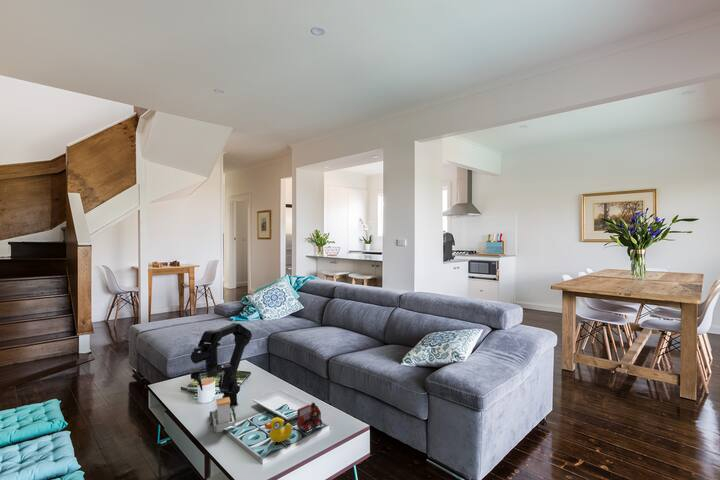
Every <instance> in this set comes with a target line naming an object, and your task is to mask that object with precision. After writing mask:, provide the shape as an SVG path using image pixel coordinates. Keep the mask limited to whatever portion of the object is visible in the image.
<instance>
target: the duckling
mask: <svg viewBox="0 0 720 480" xmlns="http://www.w3.org/2000/svg"><path fill="white" fill-rule="evenodd" d="M284 425H285V426H284ZM264 428H265V429H266V430H269V431H270V432H269V438H270V440H271V441H272V442H274V443H276V442H278V443H280V442H284V441H286V440H288V439H289V438H290V437H291V435H292V432H293V430H292V429H293V427H292V424H290V423H289V422H288V423H286V424H285V420H284V418H282V417H273V418H272V419H271V420H270V421H269V423H266V422H265V423H264Z"/></svg>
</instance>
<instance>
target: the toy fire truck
mask: <svg viewBox="0 0 720 480" xmlns="http://www.w3.org/2000/svg"><path fill="white" fill-rule="evenodd" d="M310 404H311V405H307V406H304V407H302V408H300V409H298V410H297V415H298V417H297V418H298V420H297V422H296V426H297V427H296V428H298V429H299V430H303V429H304V432H305V431H306V432H305V433H307V431H309V430H311V429H312V428H315V427H317V426H319V425H321V424H323V422H322V413H321V410H320V408H319V406H318V405H316V403H315V402H312V403H311V402H310ZM321 426H322V425H321ZM312 430H313V429H312Z"/></svg>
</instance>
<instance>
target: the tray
mask: <svg viewBox="0 0 720 480" xmlns="http://www.w3.org/2000/svg"><path fill="white" fill-rule="evenodd" d="M251 400H252V401H253V402H254V403H255V404H257V405H260V406H261V407H263V408H265V409H266V410H268V411H270V412H272V413H273V414H276V415H277V416H279V417H280V418H282V419H283V420H284V419H285V420H286V421H291V420H293V419H295V418H297V417H296V416H298V415H297V414H295V415H293V416H291V417H289V418H288V417H286V416H285V415H284V414H281V413H280V412H279V411H275V410H274V409H275V408H277V407H279V406H282V405H284V404H287V405H288V407H289V409H293V410H298V409H300V408H302V407H304V406H307V405H311V402H308V401H306V400H304V399H302V398H299V397H298V396H295V395H293V394H291V393H289V392H287V391H285V390H282V389H280V388H277V389H275V390H272V391H270V392H268V393H264V394H263V395H259V396H256V397H255V398H252V399H251ZM294 417H295V418H294ZM292 418H293V419H292ZM290 419H291V420H290Z"/></svg>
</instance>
